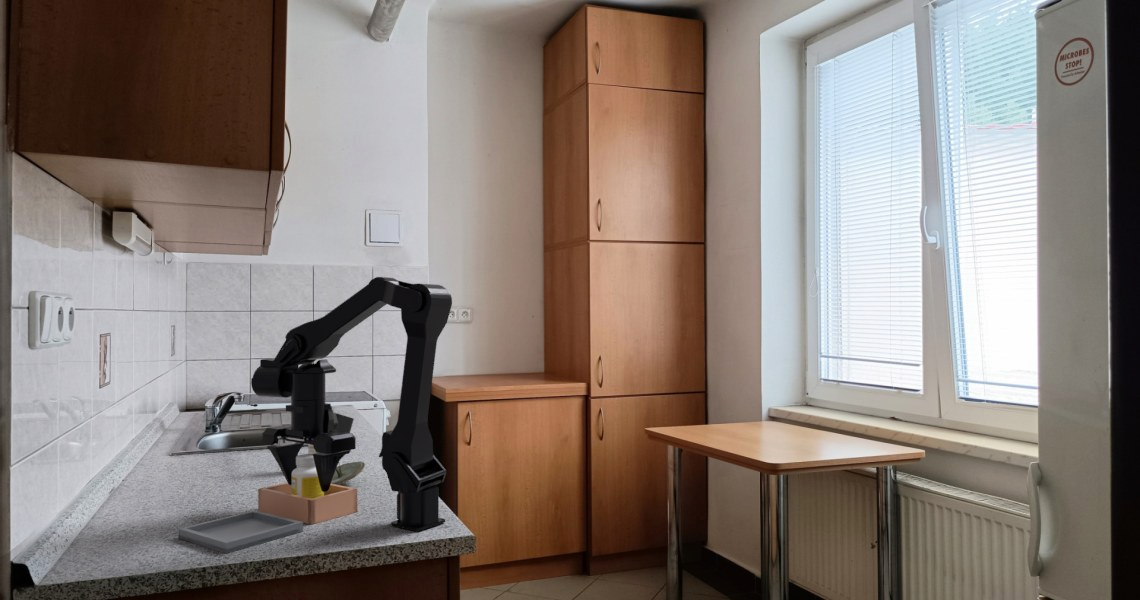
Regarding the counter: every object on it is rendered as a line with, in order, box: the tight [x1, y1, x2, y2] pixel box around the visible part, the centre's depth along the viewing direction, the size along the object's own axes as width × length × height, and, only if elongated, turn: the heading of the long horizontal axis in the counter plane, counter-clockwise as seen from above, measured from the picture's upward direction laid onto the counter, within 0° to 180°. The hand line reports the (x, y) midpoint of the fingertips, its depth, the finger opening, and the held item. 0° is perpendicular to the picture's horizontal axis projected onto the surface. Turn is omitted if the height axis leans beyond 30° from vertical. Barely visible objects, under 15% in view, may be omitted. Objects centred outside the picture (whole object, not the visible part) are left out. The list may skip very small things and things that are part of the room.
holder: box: [257, 481, 358, 525], centre depth 132 cm, size 15×10×4 cm, turn 56°
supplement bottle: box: [292, 453, 324, 498], centre depth 132 cm, size 5×5×10 cm
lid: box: [331, 460, 366, 485], centre depth 152 cm, size 11×10×5 cm
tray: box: [177, 509, 304, 554], centre depth 118 cm, size 13×13×2 cm
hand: (308, 487), depth 132 cm, fingers open, 9 cm apart
